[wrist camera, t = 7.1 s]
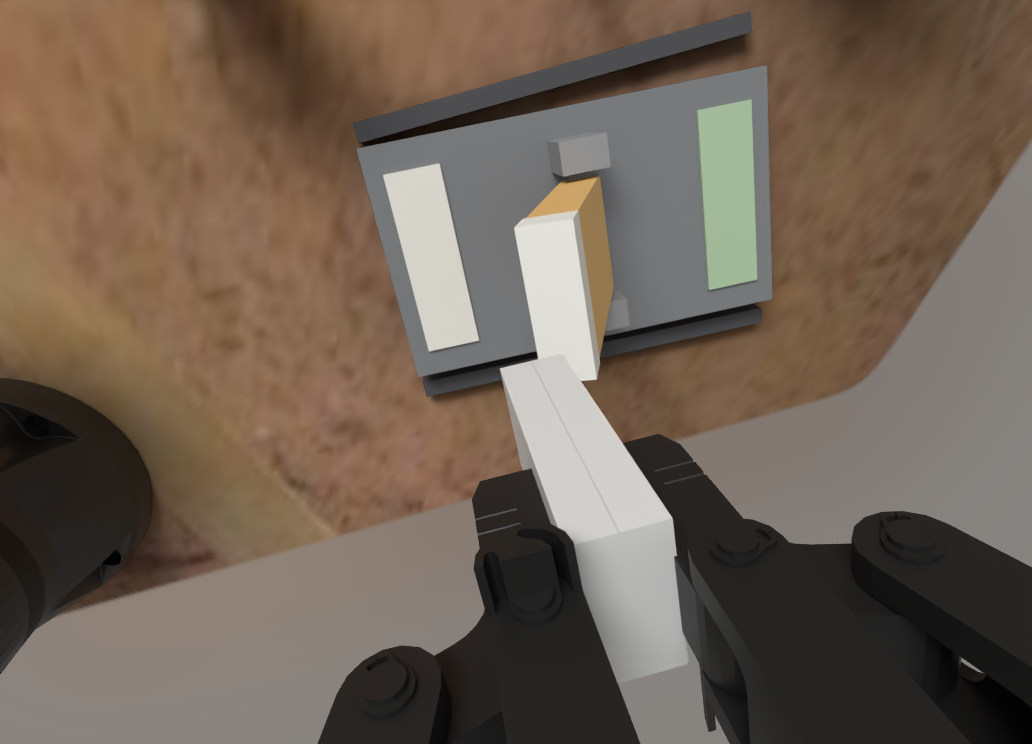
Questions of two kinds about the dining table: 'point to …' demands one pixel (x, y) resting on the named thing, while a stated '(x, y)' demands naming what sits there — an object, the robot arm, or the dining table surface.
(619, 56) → the dark grey bar
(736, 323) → the dark grey edge strip
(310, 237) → the dining table surface
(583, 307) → the breaker lever
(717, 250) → the panel
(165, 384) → the dining table surface
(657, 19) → the dining table surface
